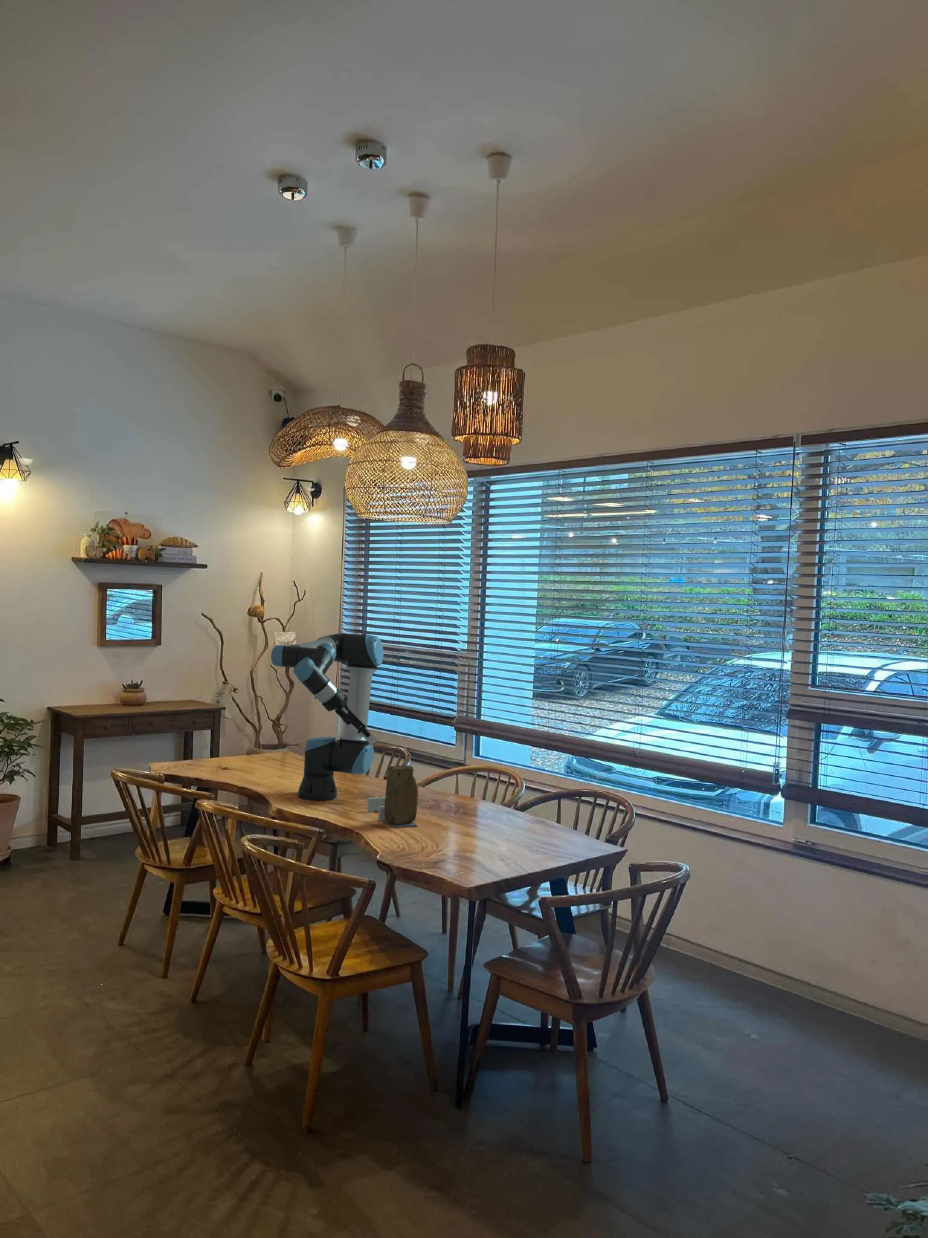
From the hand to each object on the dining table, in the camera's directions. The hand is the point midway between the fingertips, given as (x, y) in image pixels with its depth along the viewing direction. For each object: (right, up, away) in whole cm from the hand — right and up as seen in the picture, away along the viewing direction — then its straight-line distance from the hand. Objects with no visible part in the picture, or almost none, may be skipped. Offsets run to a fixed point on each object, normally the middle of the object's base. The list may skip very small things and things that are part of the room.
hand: (368, 739), depth 311 cm
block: (+11, -30, +3) cm, 32 cm away
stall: (+6, -30, +14) cm, 33 cm away
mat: (+11, -30, +3) cm, 32 cm away
